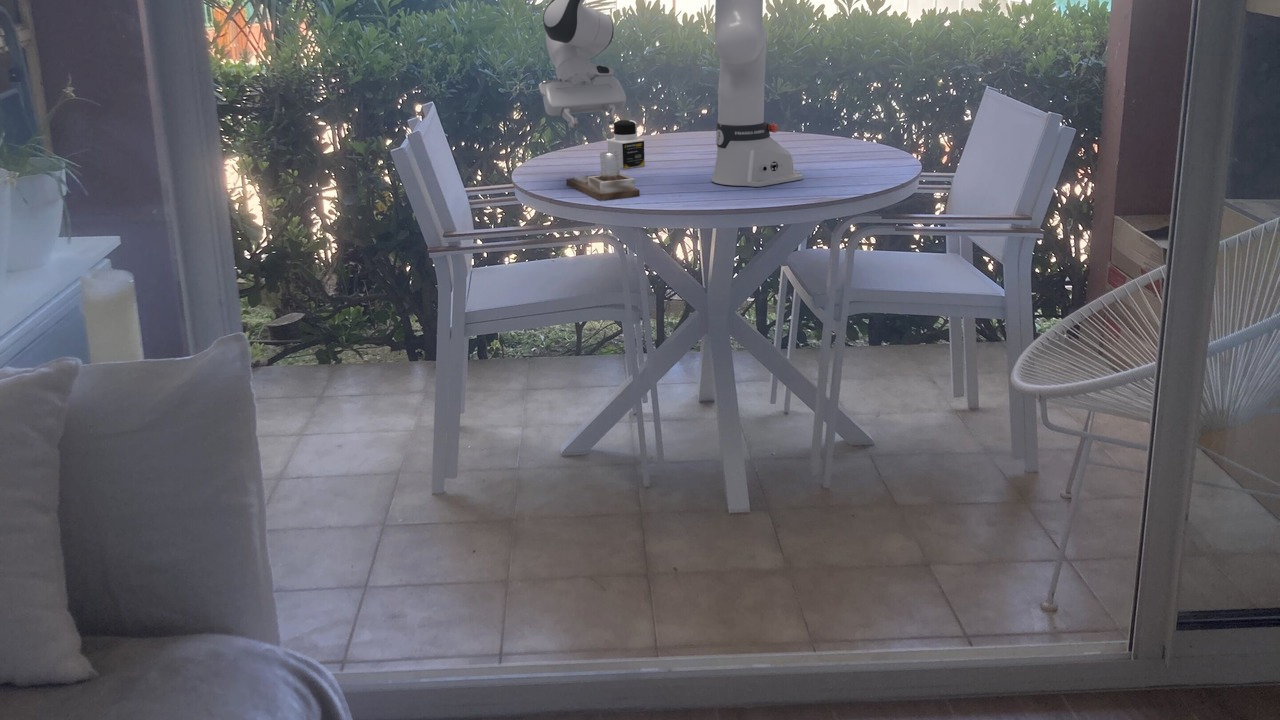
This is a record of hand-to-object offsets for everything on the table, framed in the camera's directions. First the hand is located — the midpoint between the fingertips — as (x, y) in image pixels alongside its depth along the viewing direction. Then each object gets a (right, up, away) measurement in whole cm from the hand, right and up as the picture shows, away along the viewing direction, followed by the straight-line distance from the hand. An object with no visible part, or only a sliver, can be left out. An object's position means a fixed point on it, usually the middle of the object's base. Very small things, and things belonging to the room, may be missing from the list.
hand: (593, 124), depth 271 cm
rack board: (+2, -16, +2) cm, 16 cm away
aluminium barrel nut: (+4, -16, -4) cm, 17 cm away
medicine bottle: (+8, -5, +32) cm, 33 cm away
